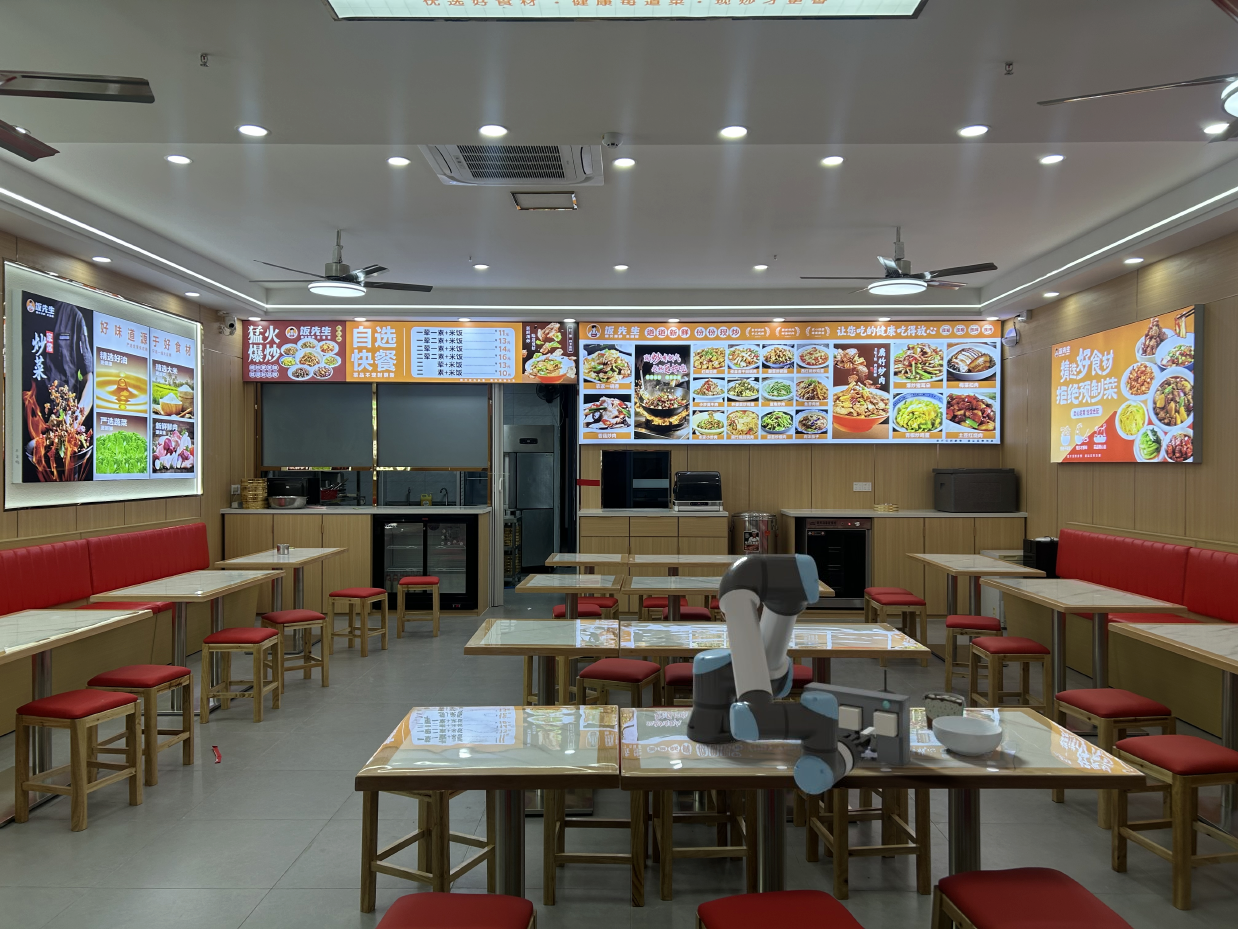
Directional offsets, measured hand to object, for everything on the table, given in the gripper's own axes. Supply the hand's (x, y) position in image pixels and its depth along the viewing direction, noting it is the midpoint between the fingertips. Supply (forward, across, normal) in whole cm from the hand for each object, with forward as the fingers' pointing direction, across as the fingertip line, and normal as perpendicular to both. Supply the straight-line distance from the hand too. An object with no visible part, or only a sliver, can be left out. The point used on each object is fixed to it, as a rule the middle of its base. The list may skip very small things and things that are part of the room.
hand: (872, 733), depth 199 cm
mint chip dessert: (+51, +5, -10) cm, 52 cm away
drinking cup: (+26, -5, -10) cm, 28 cm away
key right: (+11, 0, -2) cm, 11 cm away
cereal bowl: (+33, +14, -10) cm, 38 cm away
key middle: (+10, -9, -3) cm, 14 cm away
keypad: (+14, -9, -10) cm, 19 cm away
